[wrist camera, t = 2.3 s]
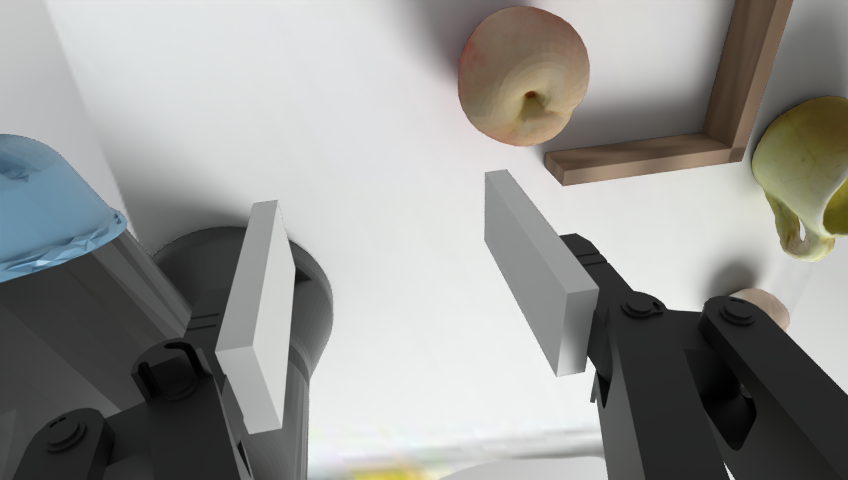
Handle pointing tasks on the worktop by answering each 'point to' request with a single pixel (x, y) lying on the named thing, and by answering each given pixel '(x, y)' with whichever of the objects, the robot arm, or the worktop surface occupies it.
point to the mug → (807, 175)
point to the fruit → (522, 75)
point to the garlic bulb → (766, 305)
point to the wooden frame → (725, 119)
